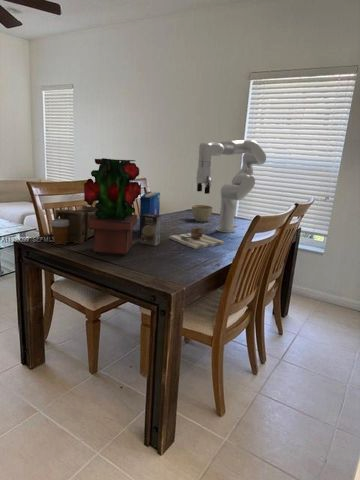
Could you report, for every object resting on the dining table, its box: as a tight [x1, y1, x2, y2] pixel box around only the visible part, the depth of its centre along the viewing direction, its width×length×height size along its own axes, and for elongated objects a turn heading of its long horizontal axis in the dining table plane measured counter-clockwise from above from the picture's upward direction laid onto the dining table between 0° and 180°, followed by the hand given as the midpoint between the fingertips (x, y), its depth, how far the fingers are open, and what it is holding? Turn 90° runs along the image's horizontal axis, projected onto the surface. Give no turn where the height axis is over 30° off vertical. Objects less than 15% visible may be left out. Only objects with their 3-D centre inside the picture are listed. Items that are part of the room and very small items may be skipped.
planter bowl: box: [191, 204, 214, 223], centre depth 254 cm, size 16×16×11 cm
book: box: [139, 191, 161, 236], centre depth 203 cm, size 22×7×25 cm, turn 168°
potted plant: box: [83, 157, 142, 257], centre depth 159 cm, size 22×22×45 cm
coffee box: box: [140, 214, 162, 247], centre depth 182 cm, size 9×6×16 cm
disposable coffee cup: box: [50, 218, 70, 245], centre depth 172 cm, size 10×10×12 cm
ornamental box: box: [54, 205, 99, 245], centre depth 190 cm, size 35×18×18 cm, turn 162°
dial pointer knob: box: [181, 226, 203, 239], centre depth 192 cm, size 12×5×6 cm, turn 109°
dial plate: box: [168, 232, 225, 250], centre depth 194 cm, size 22×24×2 cm
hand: (203, 192), depth 205 cm, fingers open, 9 cm apart
